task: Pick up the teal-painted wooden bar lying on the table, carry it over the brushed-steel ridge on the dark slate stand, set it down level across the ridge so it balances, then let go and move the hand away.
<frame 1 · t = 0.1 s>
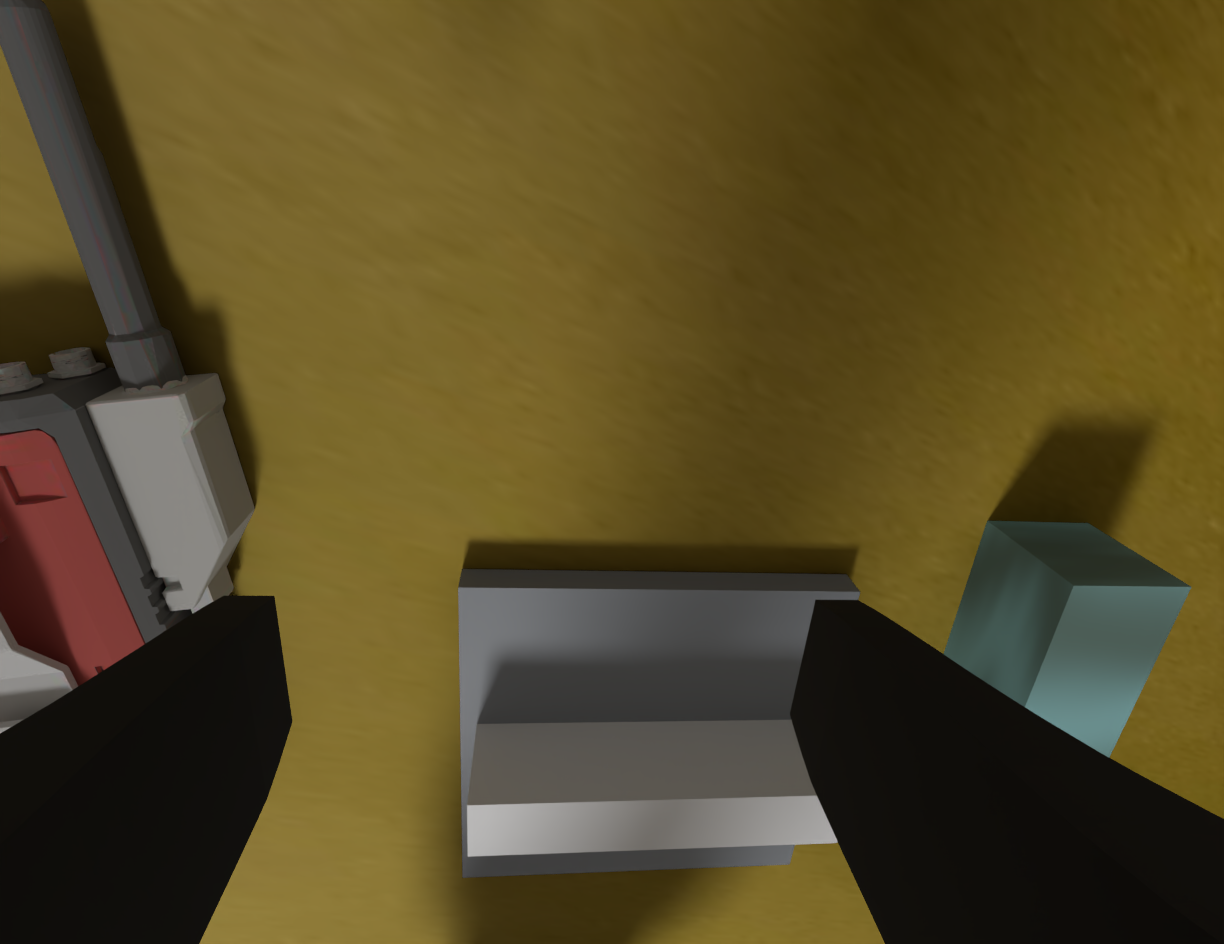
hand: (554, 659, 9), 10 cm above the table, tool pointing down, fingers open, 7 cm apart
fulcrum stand: (642, 722, 23), on the table
teal bar: (963, 711, 25), on the table
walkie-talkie: (86, 455, 18), on the table
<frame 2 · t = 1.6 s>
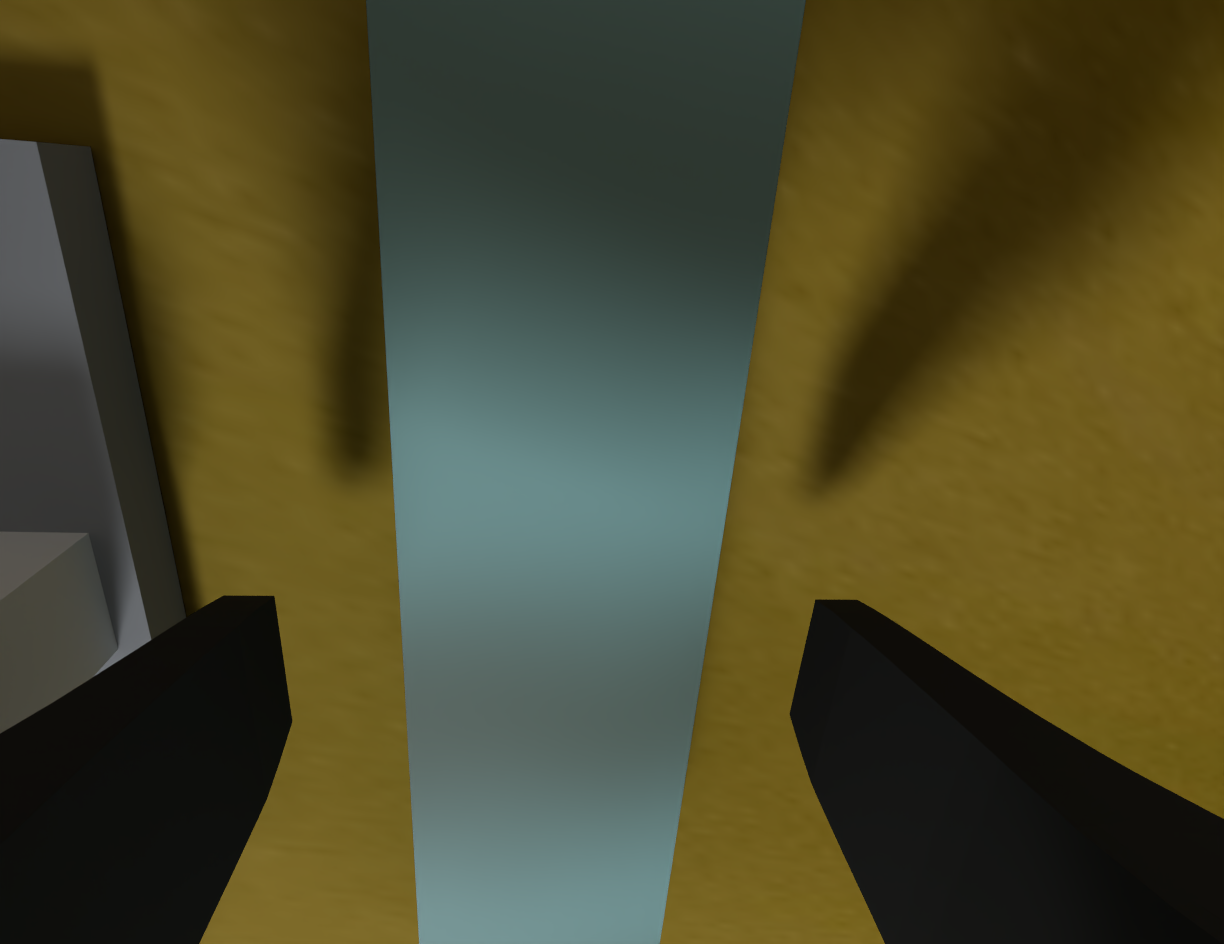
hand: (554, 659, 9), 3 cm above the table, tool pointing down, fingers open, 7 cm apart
teal bar: (548, 553, 12), on the table
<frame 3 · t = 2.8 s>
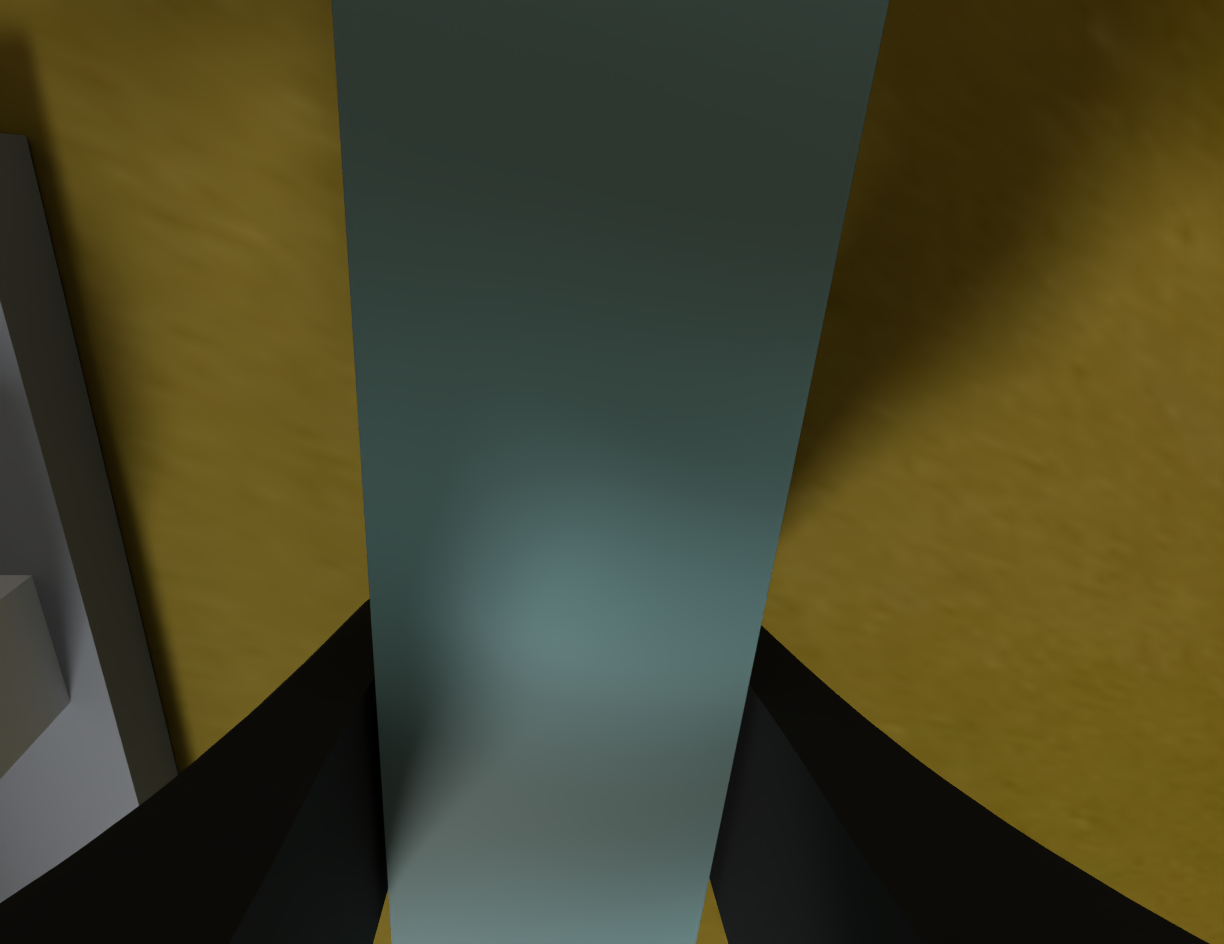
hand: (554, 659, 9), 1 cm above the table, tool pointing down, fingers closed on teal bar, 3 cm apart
teal bar: (552, 593, 11), on the table, touching gripper
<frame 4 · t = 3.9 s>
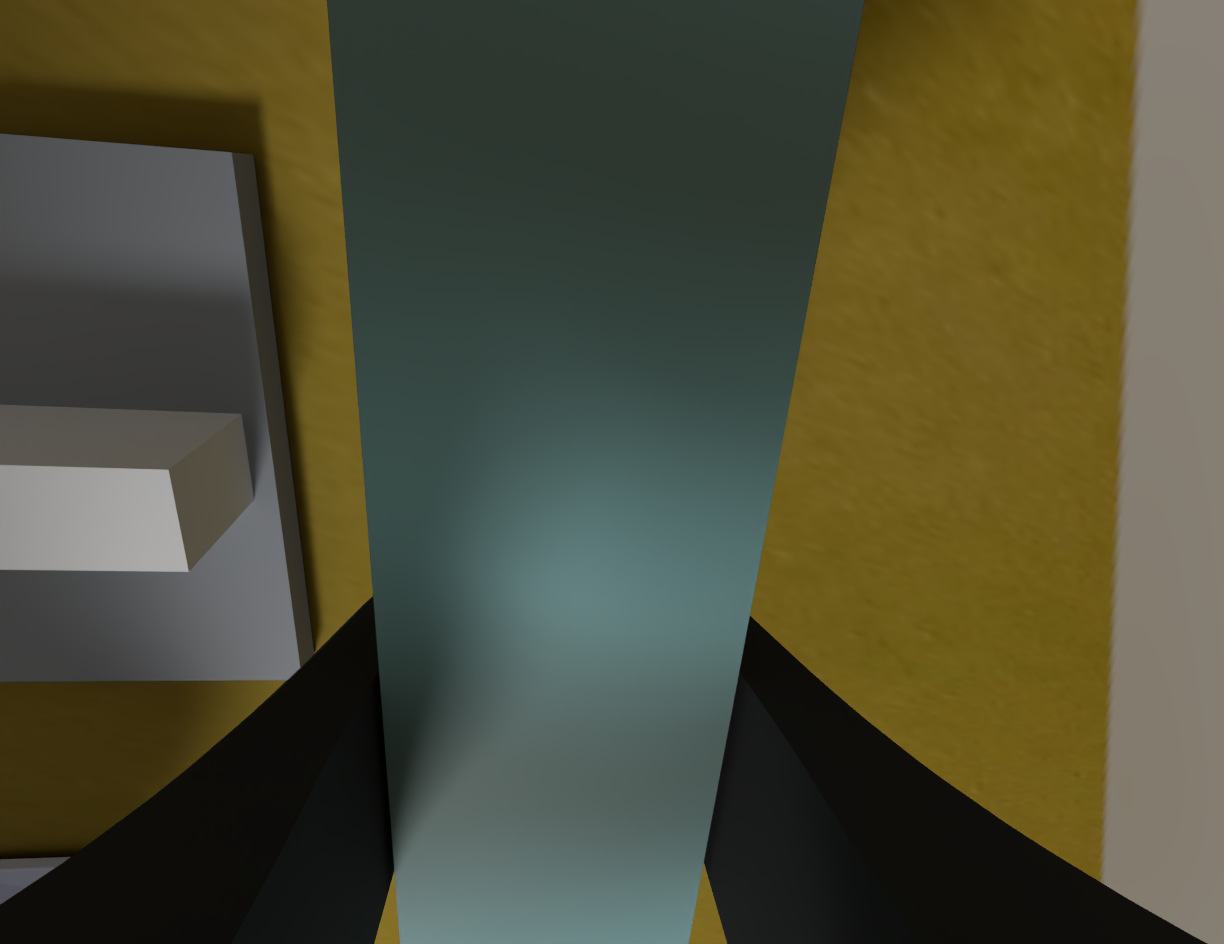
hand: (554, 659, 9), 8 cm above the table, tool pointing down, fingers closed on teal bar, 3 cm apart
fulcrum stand: (1, 432, 15), on the table
teal bar: (552, 579, 11), point 6 cm above the table, touching gripper
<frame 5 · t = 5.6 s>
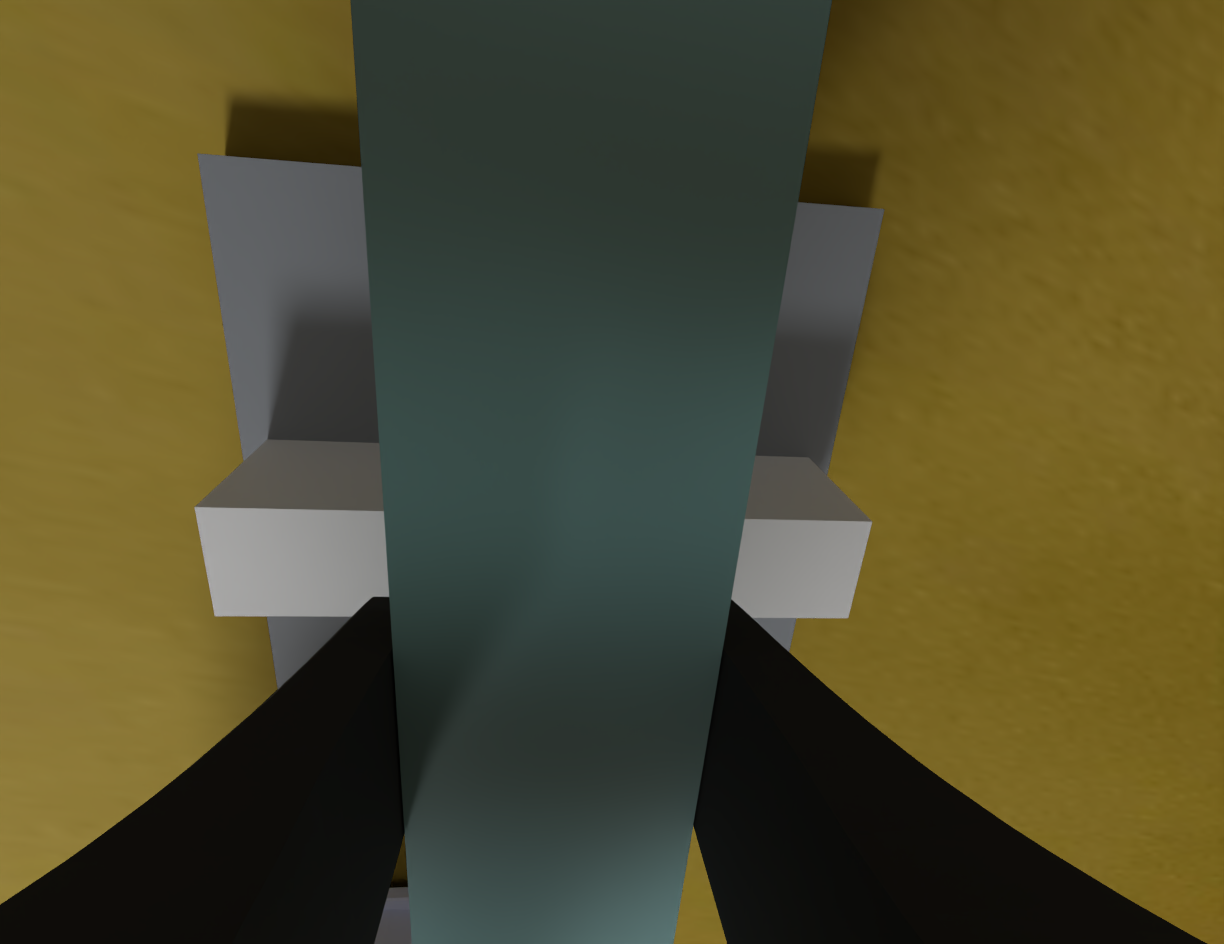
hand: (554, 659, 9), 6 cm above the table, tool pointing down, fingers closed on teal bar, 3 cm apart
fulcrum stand: (548, 474, 15), on the table
teal bar: (551, 568, 11), point 4 cm above the table, touching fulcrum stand, gripper
when the fingers open (6 cm above the table, at t = 6.5 s): teal bar stays where it is, resting on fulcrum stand.
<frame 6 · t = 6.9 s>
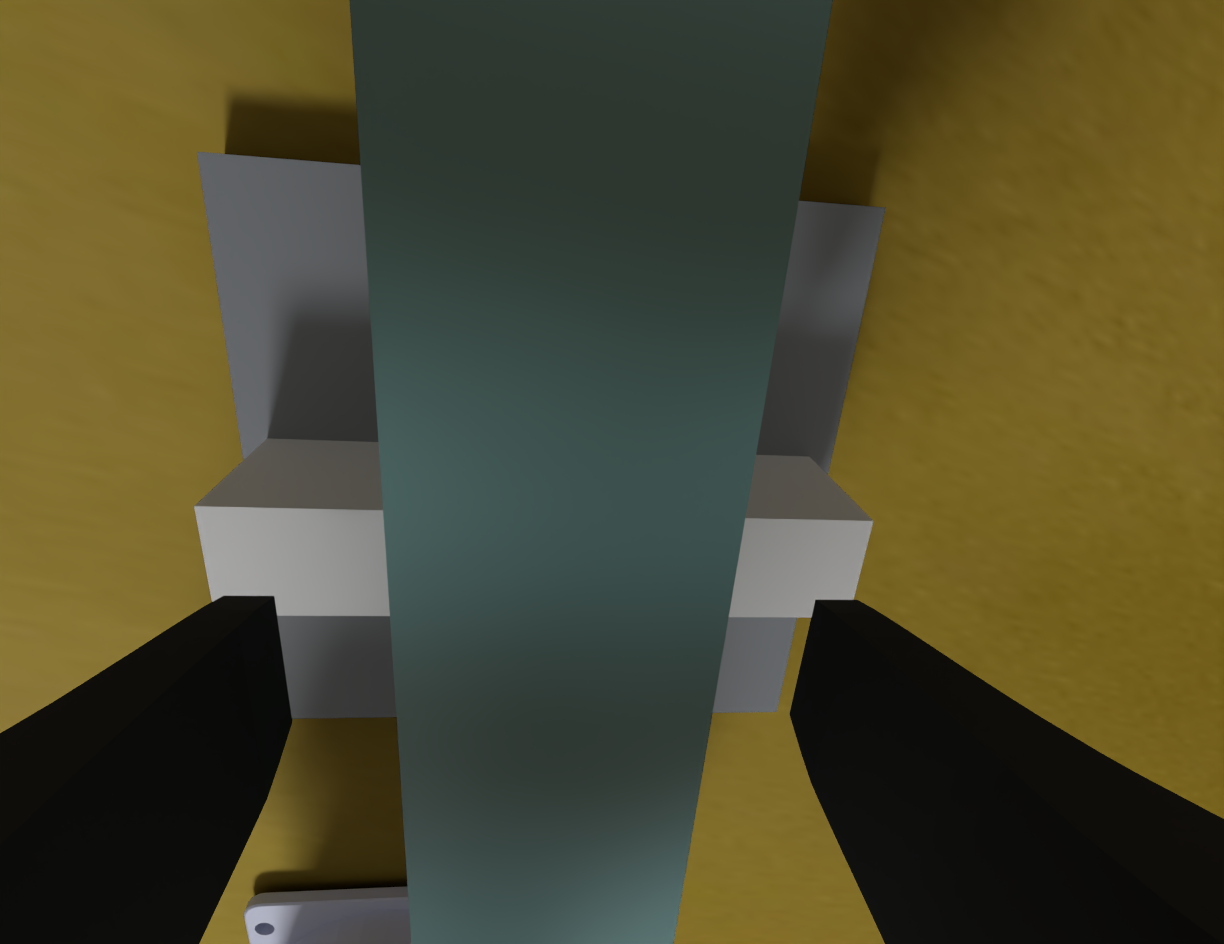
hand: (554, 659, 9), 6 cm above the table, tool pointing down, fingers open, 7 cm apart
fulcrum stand: (548, 473, 15), on the table
teal bar: (551, 567, 11), point 4 cm above the table, touching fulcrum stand
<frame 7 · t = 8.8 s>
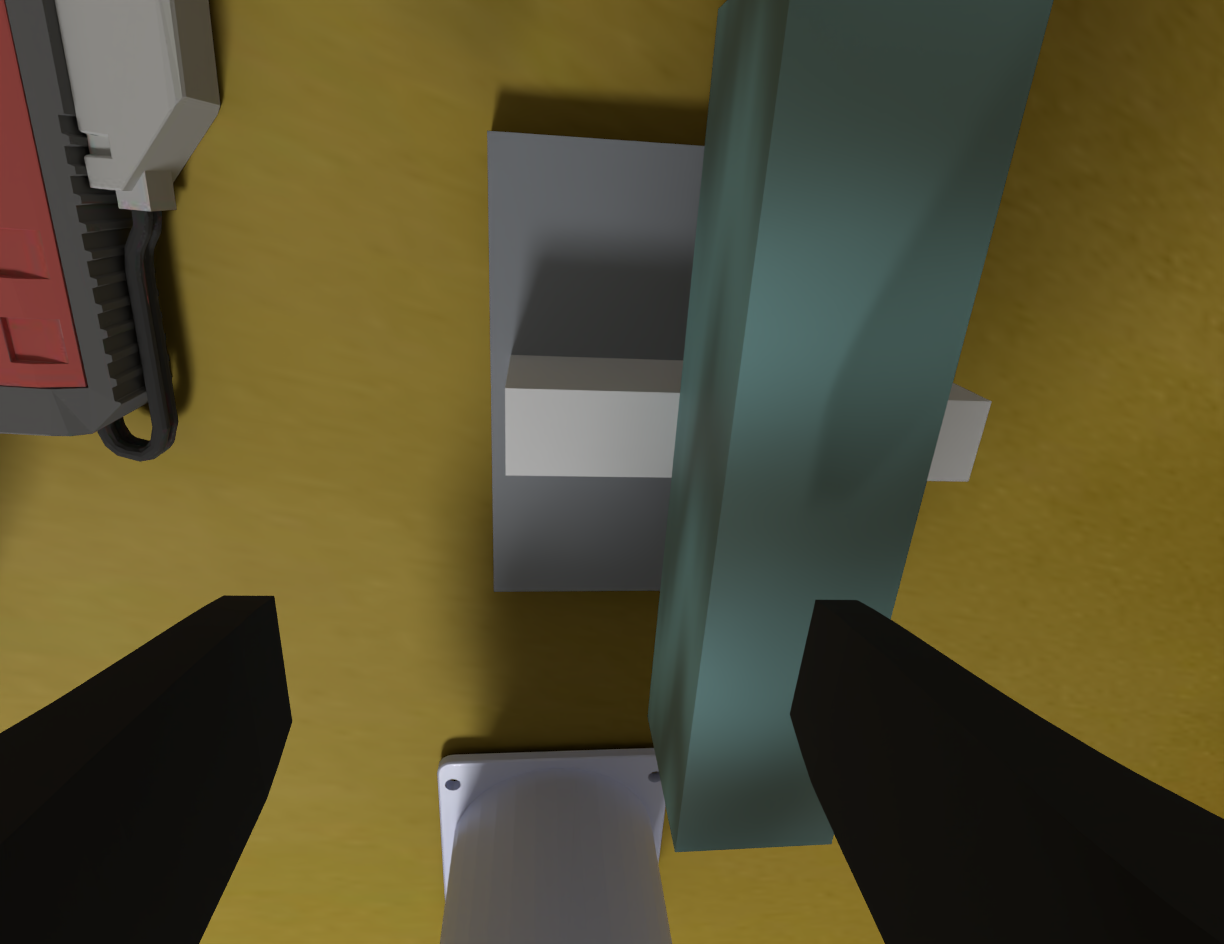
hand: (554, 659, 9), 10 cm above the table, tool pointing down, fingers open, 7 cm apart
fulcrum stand: (710, 388, 19), on the table
teal bar: (751, 438, 15), point 4 cm above the table, touching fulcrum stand
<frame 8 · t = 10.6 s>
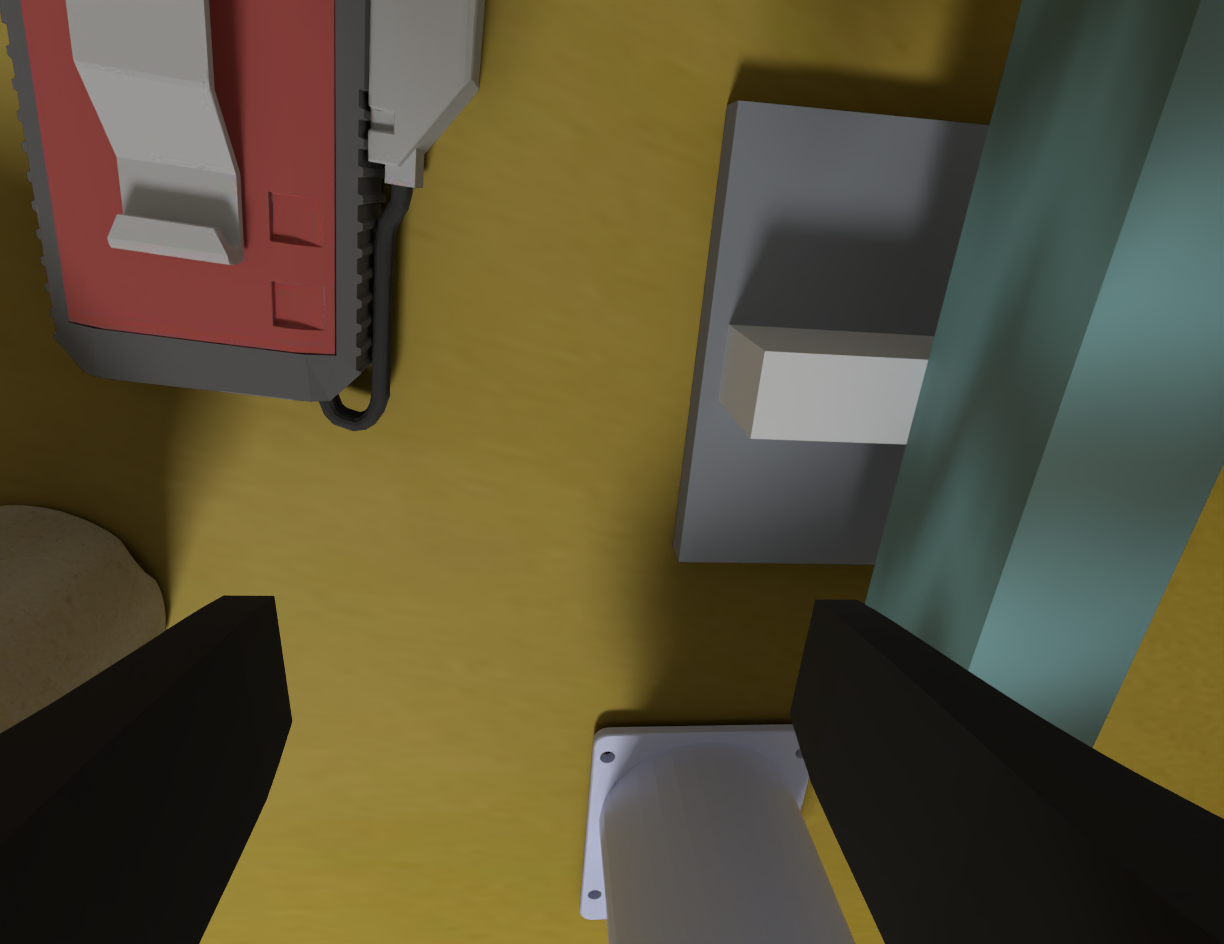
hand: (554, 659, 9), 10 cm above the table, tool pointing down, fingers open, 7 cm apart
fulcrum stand: (902, 363, 19), on the table
teal bar: (988, 406, 15), point 4 cm above the table, touching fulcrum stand
flower pot: (57, 591, 19), on the table
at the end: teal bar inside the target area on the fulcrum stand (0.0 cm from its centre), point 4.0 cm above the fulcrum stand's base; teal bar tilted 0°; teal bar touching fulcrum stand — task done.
